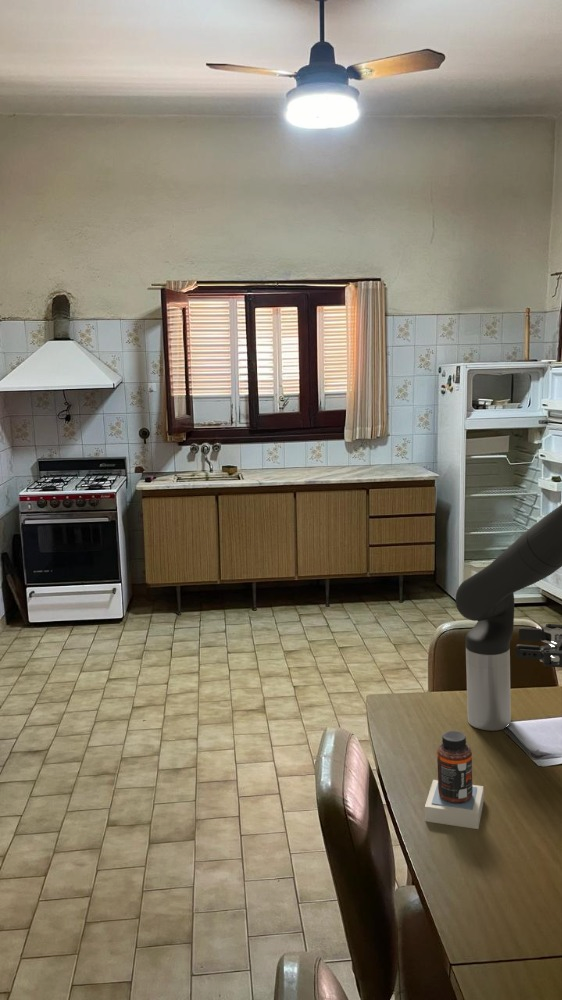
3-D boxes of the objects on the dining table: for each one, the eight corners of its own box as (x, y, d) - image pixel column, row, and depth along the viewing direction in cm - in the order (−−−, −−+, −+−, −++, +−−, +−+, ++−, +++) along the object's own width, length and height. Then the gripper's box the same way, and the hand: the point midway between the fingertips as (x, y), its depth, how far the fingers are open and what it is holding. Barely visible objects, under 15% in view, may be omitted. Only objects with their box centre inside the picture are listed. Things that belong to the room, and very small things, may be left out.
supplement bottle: (473, 805, 129) (472, 744, 127) (438, 803, 131) (436, 743, 129) (472, 787, 135) (470, 728, 133) (438, 785, 136) (436, 727, 134)
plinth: (433, 793, 139) (433, 778, 139) (483, 800, 136) (483, 785, 135) (425, 821, 131) (424, 805, 130) (478, 829, 128) (477, 813, 127)
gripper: (617, 613, 130) (519, 608, 136) (622, 642, 117) (514, 635, 123) (616, 654, 132) (519, 648, 137) (622, 687, 118) (514, 678, 124)
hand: (517, 642), depth 130 cm, fingers open, 8 cm apart
